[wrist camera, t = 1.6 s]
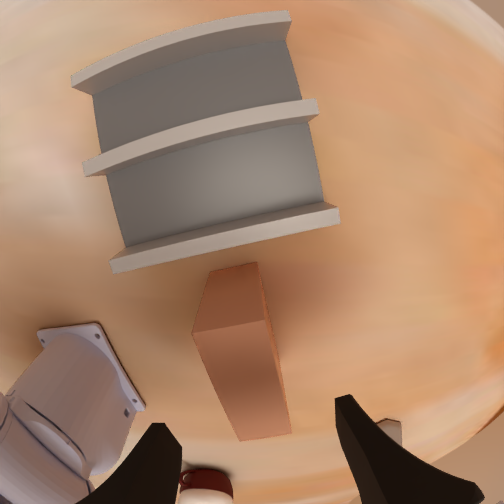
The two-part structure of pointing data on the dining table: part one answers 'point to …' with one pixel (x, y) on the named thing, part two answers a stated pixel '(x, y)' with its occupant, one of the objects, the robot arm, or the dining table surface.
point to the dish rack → (205, 140)
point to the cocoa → (205, 487)
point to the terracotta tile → (242, 353)
